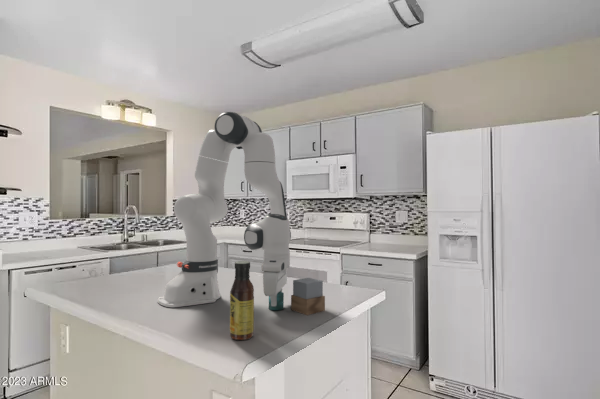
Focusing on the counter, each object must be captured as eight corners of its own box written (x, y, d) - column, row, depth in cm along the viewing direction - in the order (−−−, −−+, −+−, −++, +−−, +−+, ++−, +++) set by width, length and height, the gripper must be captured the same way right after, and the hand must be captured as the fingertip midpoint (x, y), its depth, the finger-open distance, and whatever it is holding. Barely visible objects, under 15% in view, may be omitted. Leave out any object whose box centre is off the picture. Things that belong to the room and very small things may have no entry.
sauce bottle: (231, 333, 97) (231, 259, 97) (254, 332, 97) (254, 259, 98) (228, 342, 90) (228, 263, 91) (253, 341, 91) (253, 263, 91)
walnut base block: (306, 315, 113) (307, 300, 113) (291, 310, 119) (291, 295, 119) (324, 311, 118) (324, 296, 118) (308, 306, 124) (308, 291, 125)
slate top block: (306, 299, 114) (306, 283, 114) (293, 295, 120) (293, 280, 120) (322, 295, 119) (322, 280, 119) (308, 292, 124) (308, 277, 124)
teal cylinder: (274, 311, 117) (274, 295, 117) (265, 307, 120) (265, 293, 120) (286, 308, 120) (286, 293, 120) (277, 305, 124) (277, 290, 124)
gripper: (274, 257, 131) (273, 295, 131) (259, 266, 111) (259, 311, 111) (291, 258, 130) (290, 296, 130) (279, 267, 110) (279, 312, 110)
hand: (276, 303), depth 120 cm, fingers closed on teal cylinder, 5 cm apart
